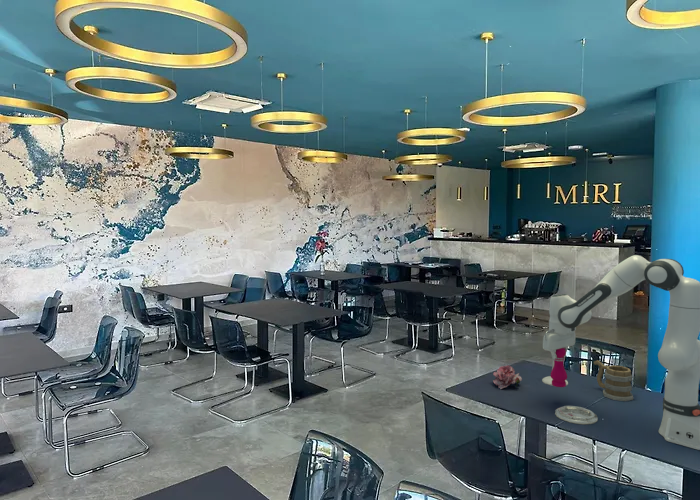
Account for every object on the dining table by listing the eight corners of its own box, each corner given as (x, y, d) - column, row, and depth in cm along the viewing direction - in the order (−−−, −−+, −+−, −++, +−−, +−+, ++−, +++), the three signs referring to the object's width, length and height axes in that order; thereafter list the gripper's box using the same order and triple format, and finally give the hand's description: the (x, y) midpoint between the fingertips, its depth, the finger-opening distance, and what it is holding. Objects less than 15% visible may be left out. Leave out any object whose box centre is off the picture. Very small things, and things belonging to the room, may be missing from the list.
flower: (497, 373, 266) (498, 358, 262) (524, 382, 257) (526, 366, 254) (487, 388, 255) (488, 372, 251) (515, 398, 246) (516, 382, 243)
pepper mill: (568, 387, 226) (569, 345, 225) (552, 387, 227) (552, 345, 226) (565, 382, 233) (565, 341, 232) (549, 382, 234) (549, 341, 233)
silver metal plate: (605, 418, 212) (605, 414, 212) (582, 427, 203) (582, 423, 203) (570, 406, 227) (570, 402, 227) (547, 414, 218) (547, 409, 218)
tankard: (638, 398, 235) (639, 368, 234) (619, 402, 231) (620, 371, 230) (603, 385, 254) (604, 357, 253) (585, 389, 249) (586, 360, 248)
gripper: (551, 332, 220) (550, 362, 221) (578, 326, 231) (577, 355, 232) (539, 329, 226) (539, 359, 226) (566, 324, 236) (565, 352, 237)
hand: (558, 357), depth 229 cm, fingers closed on pepper mill, 5 cm apart
